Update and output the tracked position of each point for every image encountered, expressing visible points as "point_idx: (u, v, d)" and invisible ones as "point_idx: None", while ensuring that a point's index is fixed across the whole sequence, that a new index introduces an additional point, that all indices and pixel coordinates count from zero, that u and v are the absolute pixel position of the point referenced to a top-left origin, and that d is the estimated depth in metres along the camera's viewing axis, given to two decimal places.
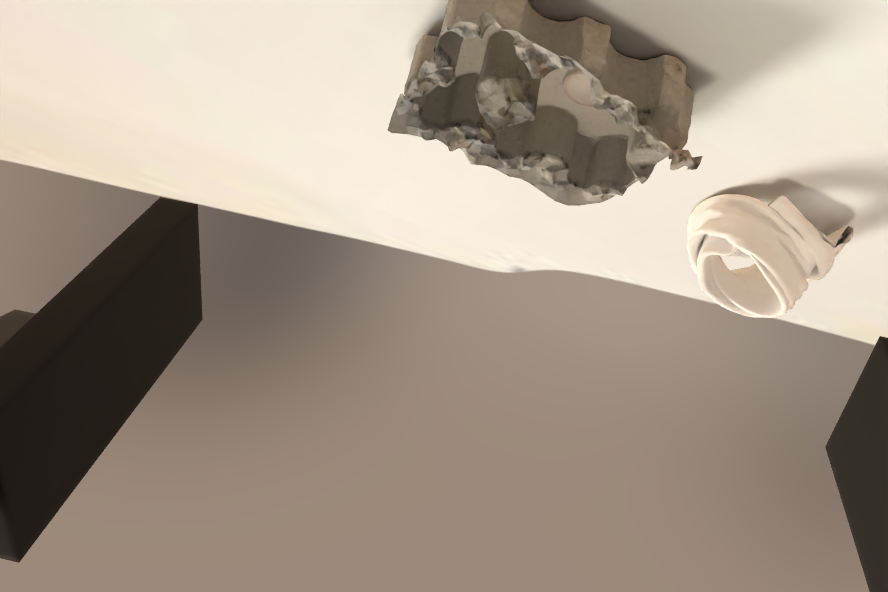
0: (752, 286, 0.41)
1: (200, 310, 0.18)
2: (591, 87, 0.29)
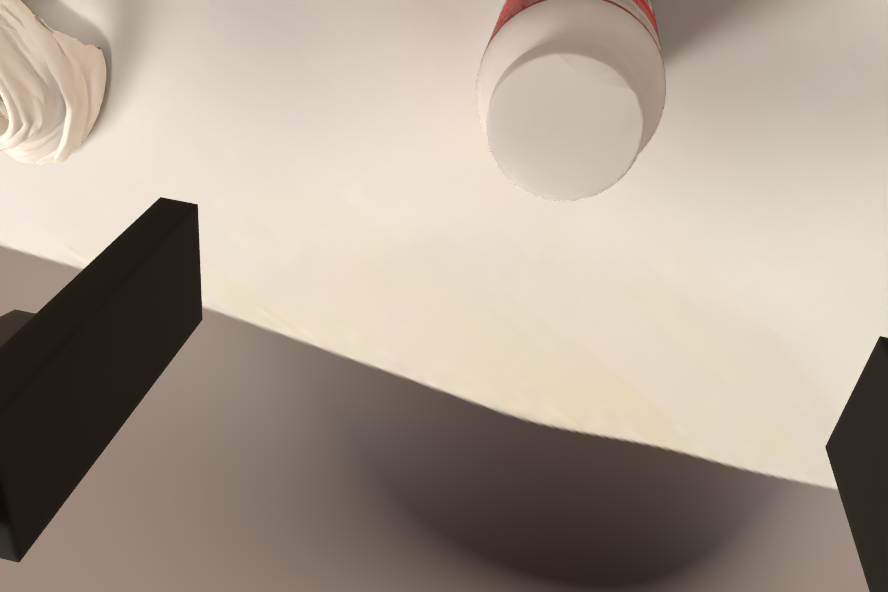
0: None
1: (200, 310, 0.18)
2: None
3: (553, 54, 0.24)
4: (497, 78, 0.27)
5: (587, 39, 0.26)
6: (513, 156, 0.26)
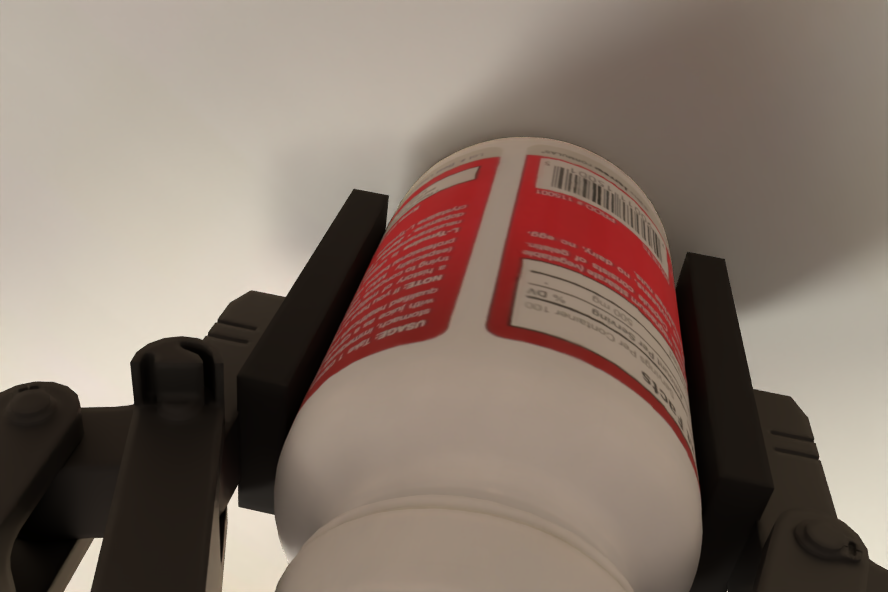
0: None
1: None
2: None
3: None
4: (305, 515, 0.11)
5: (510, 472, 0.10)
6: None
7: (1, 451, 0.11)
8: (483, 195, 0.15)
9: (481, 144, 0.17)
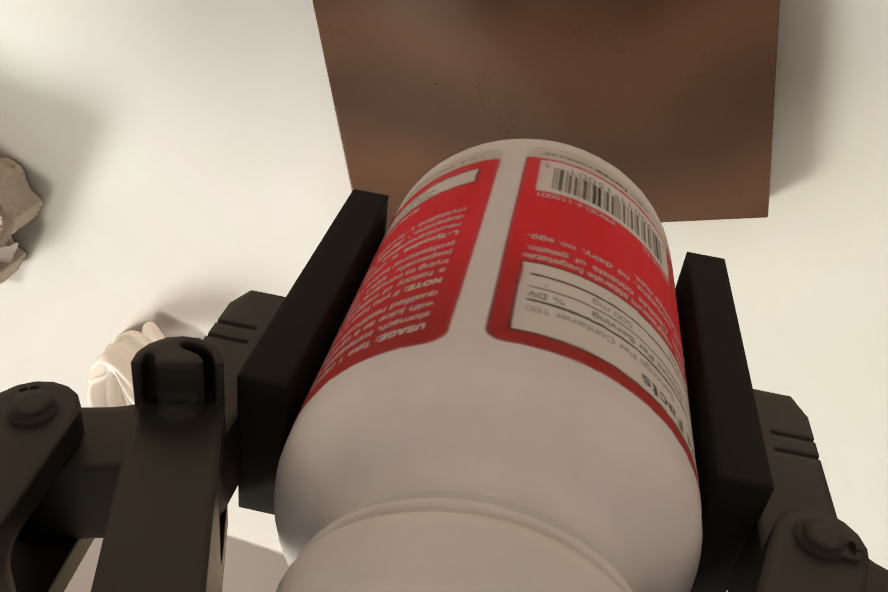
0: None
1: None
2: None
3: None
4: (305, 518, 0.11)
5: (510, 475, 0.10)
6: None
7: (1, 451, 0.11)
8: (484, 197, 0.15)
9: (481, 146, 0.17)
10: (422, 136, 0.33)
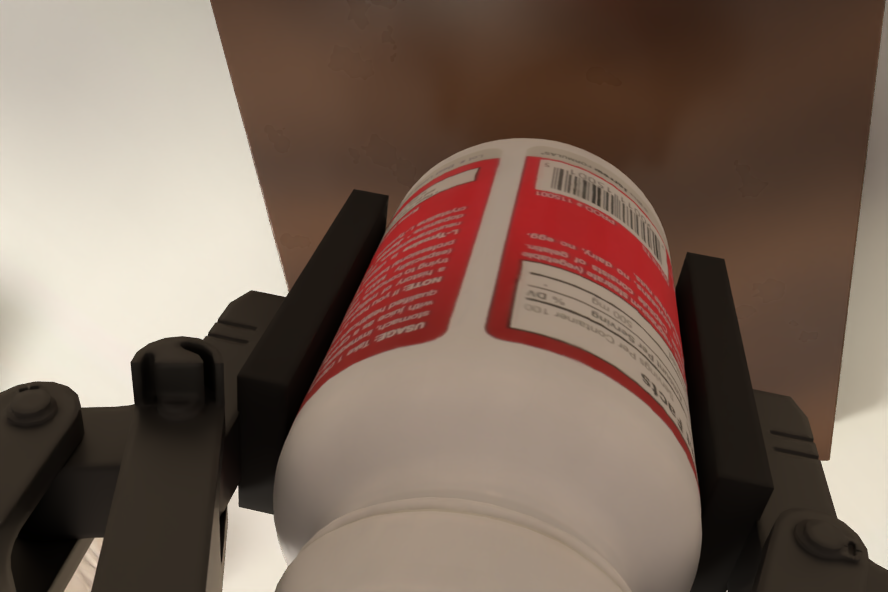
0: None
1: None
2: None
3: None
4: (304, 518, 0.11)
5: (509, 475, 0.10)
6: None
7: (1, 451, 0.11)
8: (484, 196, 0.15)
9: (481, 145, 0.17)
10: None
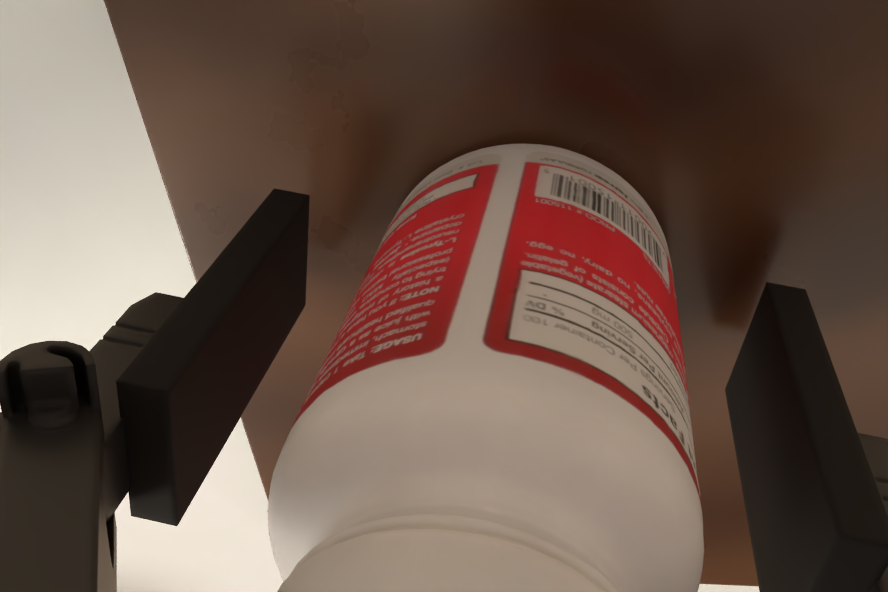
0: None
1: (304, 296, 0.18)
2: None
3: None
4: (299, 532, 0.11)
5: (508, 490, 0.10)
6: None
7: None
8: (482, 203, 0.14)
9: (480, 151, 0.17)
10: None
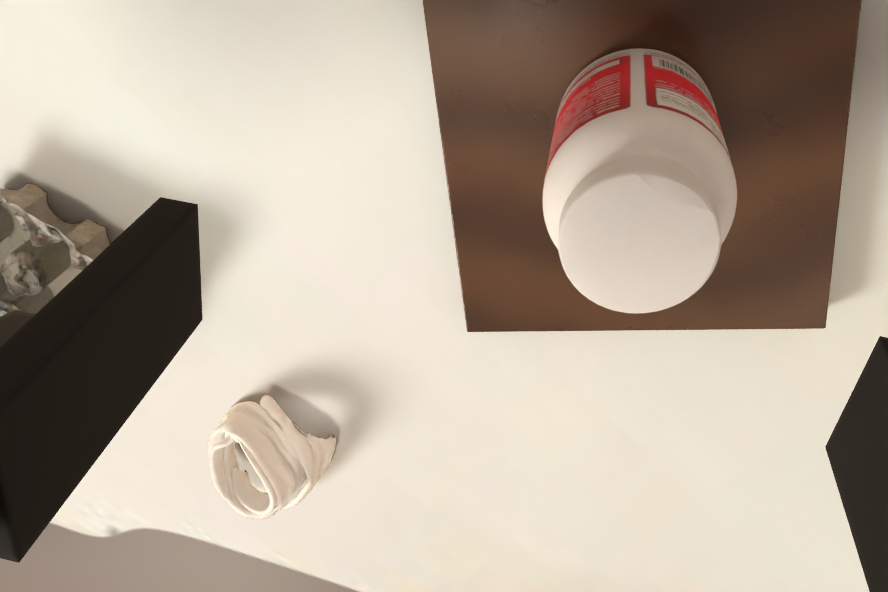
0: (265, 495, 0.47)
1: (200, 310, 0.18)
2: (70, 250, 0.41)
3: (632, 174, 0.24)
4: (567, 186, 0.27)
5: (662, 153, 0.25)
6: (584, 269, 0.25)
7: None
8: (627, 68, 0.30)
9: (616, 52, 0.32)
10: (528, 253, 0.38)
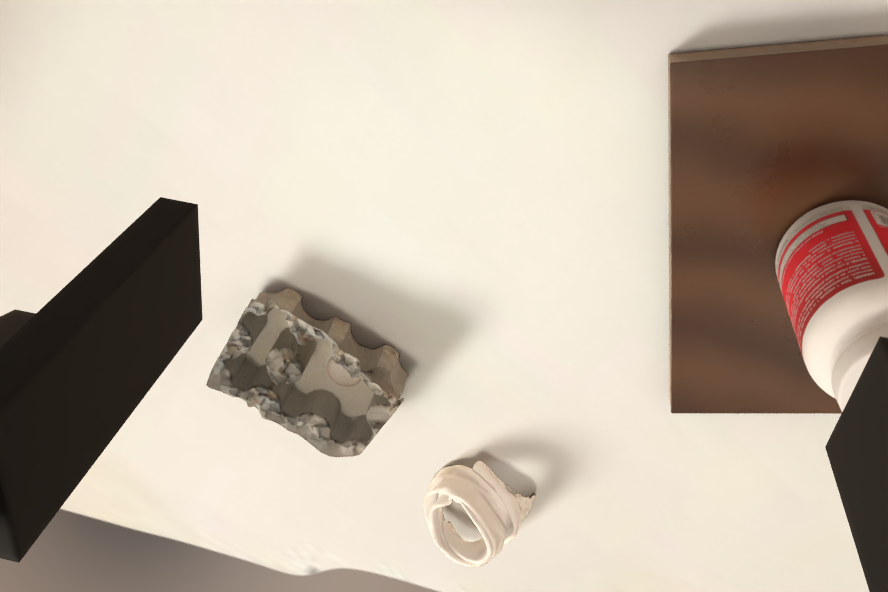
0: (474, 545, 0.55)
1: (200, 310, 0.18)
2: (332, 348, 0.48)
3: None
4: (835, 337, 0.34)
5: None
6: None
7: None
8: (858, 227, 0.37)
9: (835, 203, 0.39)
10: (734, 353, 0.45)
